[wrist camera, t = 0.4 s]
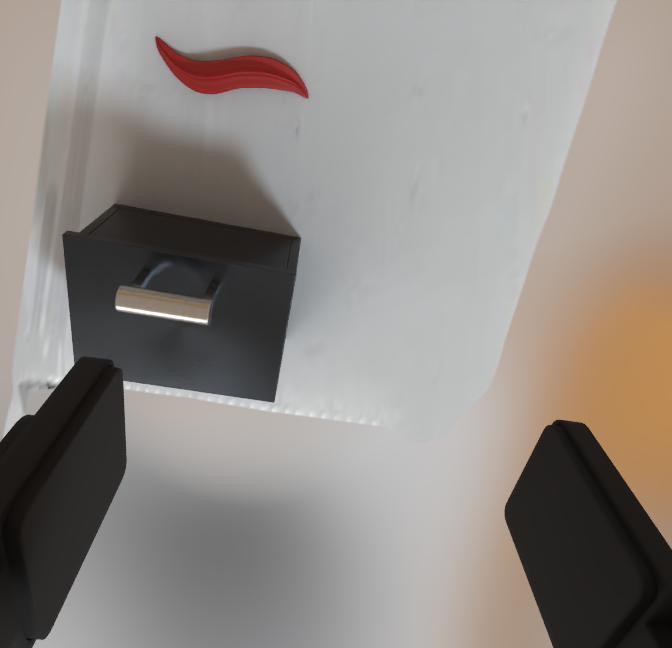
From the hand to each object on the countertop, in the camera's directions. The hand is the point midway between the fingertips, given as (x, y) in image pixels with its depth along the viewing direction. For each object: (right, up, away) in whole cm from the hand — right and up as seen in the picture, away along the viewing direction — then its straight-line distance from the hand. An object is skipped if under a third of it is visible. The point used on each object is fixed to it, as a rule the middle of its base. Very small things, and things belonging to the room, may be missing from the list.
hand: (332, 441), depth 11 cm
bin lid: (-12, +3, +28) cm, 31 cm away
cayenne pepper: (-8, +22, +27) cm, 36 cm away
